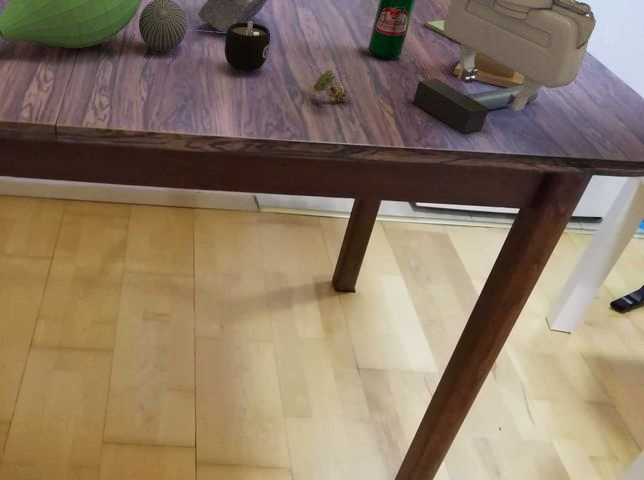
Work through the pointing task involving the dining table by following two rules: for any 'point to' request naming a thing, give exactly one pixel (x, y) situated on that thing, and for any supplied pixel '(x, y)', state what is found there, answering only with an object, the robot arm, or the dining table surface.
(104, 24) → the balloon
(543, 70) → the robot arm
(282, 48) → the dining table surface
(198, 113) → the dining table surface
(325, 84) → the soldier figurine
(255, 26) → the mug
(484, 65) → the stand
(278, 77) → the dining table surface
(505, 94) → the hammer
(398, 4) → the soda can
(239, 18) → the rock
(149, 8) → the lollipop
